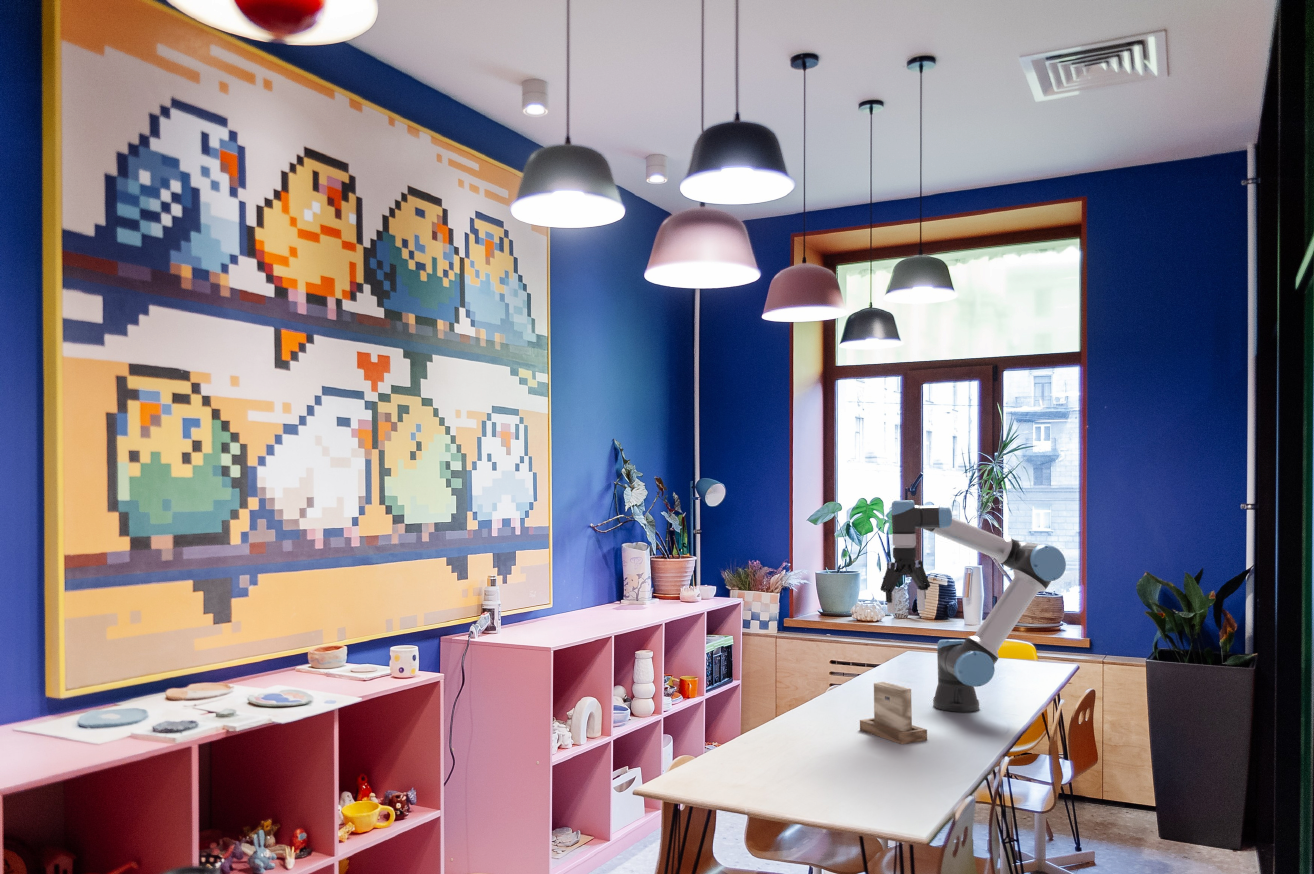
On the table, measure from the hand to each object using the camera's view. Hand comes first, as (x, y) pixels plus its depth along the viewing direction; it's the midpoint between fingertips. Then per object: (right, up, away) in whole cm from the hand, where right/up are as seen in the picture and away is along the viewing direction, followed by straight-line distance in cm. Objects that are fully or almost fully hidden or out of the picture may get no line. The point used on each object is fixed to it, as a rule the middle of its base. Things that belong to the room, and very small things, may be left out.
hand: (906, 611), depth 302 cm
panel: (-11, -32, -25) cm, 42 cm away
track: (-11, -33, -25) cm, 43 cm away
